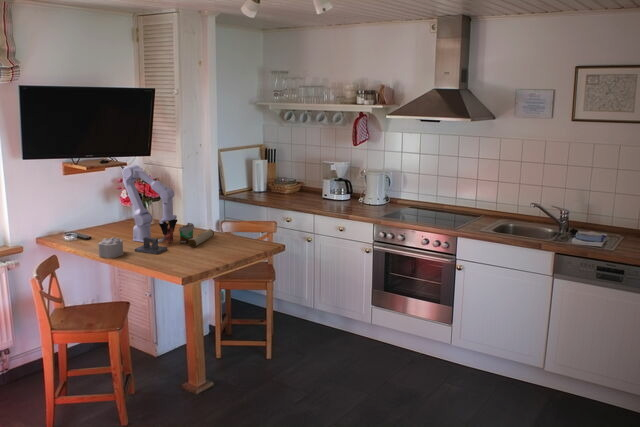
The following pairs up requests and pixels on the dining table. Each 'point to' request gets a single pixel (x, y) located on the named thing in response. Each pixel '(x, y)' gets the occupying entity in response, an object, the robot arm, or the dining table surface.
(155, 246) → the eye bracket
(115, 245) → the lumpy-topped squat cylinder
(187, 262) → the dining table surface
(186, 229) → the food container
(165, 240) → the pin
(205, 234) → the rolling pin
